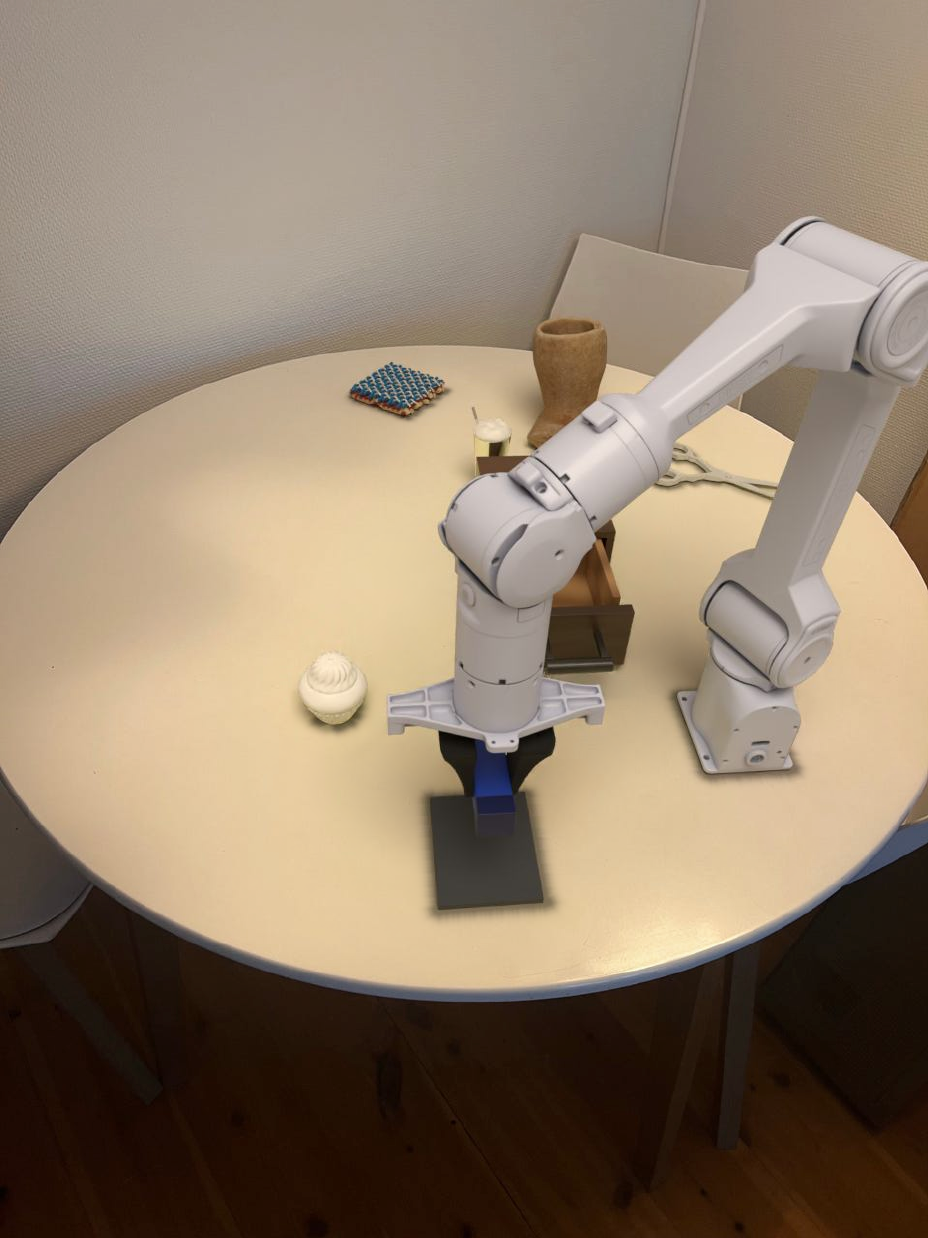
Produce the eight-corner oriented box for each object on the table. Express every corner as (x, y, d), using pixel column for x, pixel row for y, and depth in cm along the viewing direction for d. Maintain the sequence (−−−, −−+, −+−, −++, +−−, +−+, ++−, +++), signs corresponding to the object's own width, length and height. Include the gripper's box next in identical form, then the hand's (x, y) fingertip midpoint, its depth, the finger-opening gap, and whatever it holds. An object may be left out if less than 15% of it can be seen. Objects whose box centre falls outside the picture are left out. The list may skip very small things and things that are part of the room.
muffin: (372, 689, 83) (370, 635, 78) (364, 739, 79) (361, 685, 74) (307, 686, 83) (300, 631, 78) (295, 735, 79) (287, 681, 74)
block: (501, 756, 68) (503, 733, 66) (513, 835, 63) (516, 813, 61) (466, 758, 68) (467, 735, 66) (476, 837, 62) (477, 815, 61)
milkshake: (480, 471, 112) (484, 399, 105) (514, 487, 109) (520, 415, 102) (458, 486, 109) (460, 413, 102) (492, 503, 106) (496, 429, 100)
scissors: (657, 436, 118) (810, 474, 112) (656, 442, 118) (809, 479, 112) (634, 475, 110) (797, 517, 104) (633, 481, 111) (795, 523, 105)
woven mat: (448, 390, 127) (449, 377, 126) (406, 420, 120) (406, 407, 119) (390, 371, 131) (389, 358, 130) (345, 399, 124) (345, 386, 123)
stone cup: (542, 401, 126) (552, 297, 116) (623, 420, 122) (640, 314, 112) (502, 451, 115) (510, 342, 105) (589, 473, 112) (606, 362, 102)
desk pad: (543, 902, 67) (543, 898, 67) (438, 910, 66) (438, 906, 66) (524, 795, 75) (524, 791, 74) (429, 801, 74) (429, 796, 73)
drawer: (635, 700, 82) (647, 648, 77) (513, 706, 81) (519, 653, 76) (595, 576, 95) (604, 525, 91) (490, 580, 94) (494, 528, 90)
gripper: (386, 705, 52) (392, 837, 61) (626, 693, 53) (597, 824, 63) (383, 624, 57) (389, 757, 66) (602, 616, 59) (578, 747, 68)
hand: (489, 785), depth 65 cm, fingers closed on block, 2 cm apart
